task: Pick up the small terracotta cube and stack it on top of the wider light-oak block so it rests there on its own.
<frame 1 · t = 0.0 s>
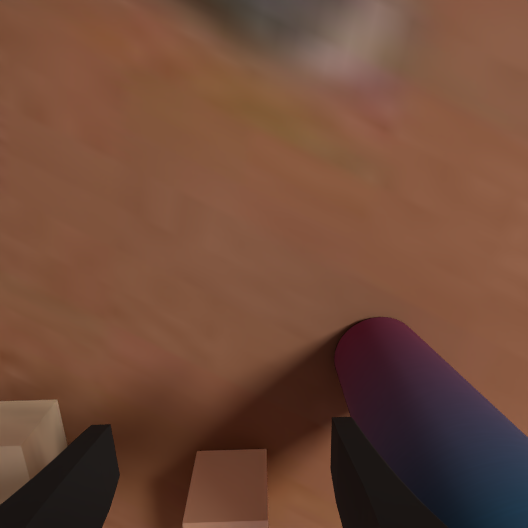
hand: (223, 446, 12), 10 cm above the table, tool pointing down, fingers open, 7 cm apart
cup: (374, 353, 23), on the table, touching gripper
oak block: (15, 444, 25), on the table
terracotta cube: (233, 476, 26), on the table
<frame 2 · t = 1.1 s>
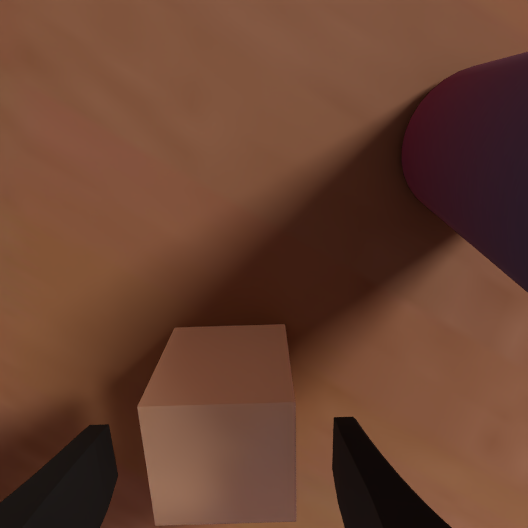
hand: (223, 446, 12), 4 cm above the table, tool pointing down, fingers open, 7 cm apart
cup: (470, 144, 14), on the table
terracotta cube: (232, 373, 16), on the table
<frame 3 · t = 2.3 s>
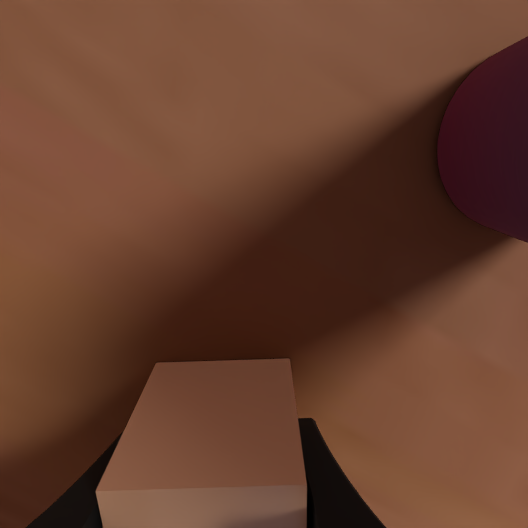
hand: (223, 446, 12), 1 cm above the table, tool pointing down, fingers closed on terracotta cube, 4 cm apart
cup: (519, 141, 11), on the table
terracotta cube: (226, 416, 14), on the table, touching gripper
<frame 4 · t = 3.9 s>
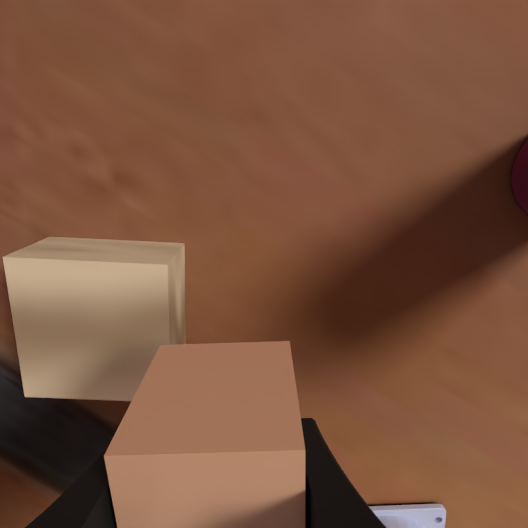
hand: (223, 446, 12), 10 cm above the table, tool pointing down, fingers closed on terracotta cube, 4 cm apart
oak block: (122, 300, 21), on the table
terracotta cube: (228, 398, 14), point 8 cm above the table, touching gripper
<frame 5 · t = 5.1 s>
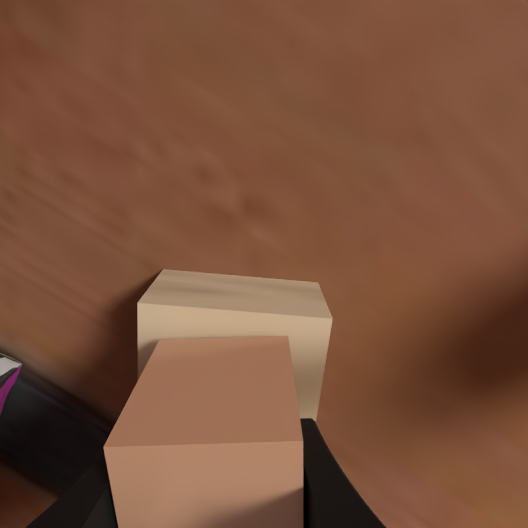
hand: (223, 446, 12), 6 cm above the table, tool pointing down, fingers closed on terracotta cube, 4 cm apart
oak block: (235, 342, 19), on the table
terracotta cube: (227, 393, 14), point 4 cm above the table, touching gripper
when the fingers open (6 cm above the table, at t = 5.7 s): terracotta cube stays where it is, resting on oak block.
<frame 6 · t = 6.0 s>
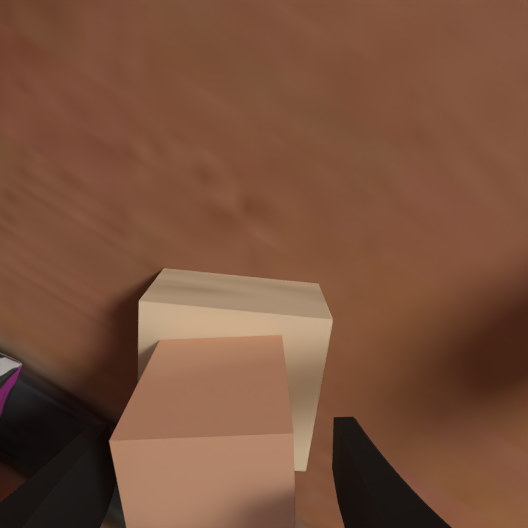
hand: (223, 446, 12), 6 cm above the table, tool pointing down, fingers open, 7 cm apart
oak block: (235, 341, 19), on the table, touching terracotta cube
terracotta cube: (225, 389, 15), point 4 cm above the table, touching oak block
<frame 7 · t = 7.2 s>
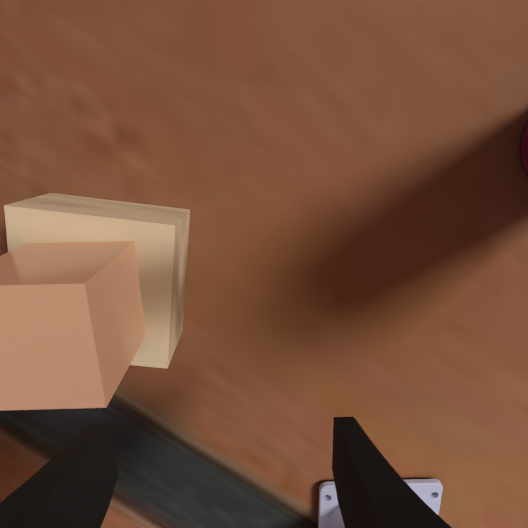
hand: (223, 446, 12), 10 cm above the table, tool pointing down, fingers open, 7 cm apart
oak block: (122, 264, 21), on the table, touching terracotta cube
terracotta cube: (89, 291, 17), point 4 cm above the table, touching oak block
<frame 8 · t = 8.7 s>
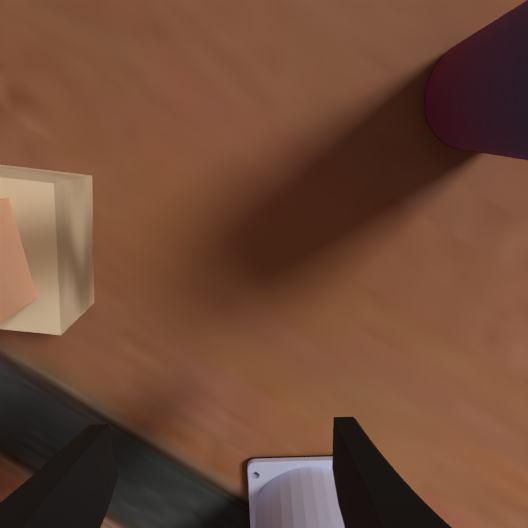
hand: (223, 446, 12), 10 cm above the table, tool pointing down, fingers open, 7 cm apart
cup: (474, 95, 19), on the table
oak block: (28, 233, 21), on the table, touching terracotta cube
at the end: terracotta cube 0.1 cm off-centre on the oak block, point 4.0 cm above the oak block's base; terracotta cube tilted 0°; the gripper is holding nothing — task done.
